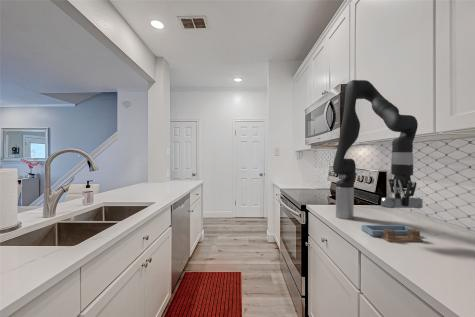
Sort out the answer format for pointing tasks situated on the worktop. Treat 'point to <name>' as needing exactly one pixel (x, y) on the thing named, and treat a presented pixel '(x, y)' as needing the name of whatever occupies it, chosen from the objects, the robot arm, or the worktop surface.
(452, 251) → the worktop surface
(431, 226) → the worktop surface
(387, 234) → the wooden plank with blocks
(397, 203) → the steel dumbbell
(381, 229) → the slate-blue tray
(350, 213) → the robot arm
